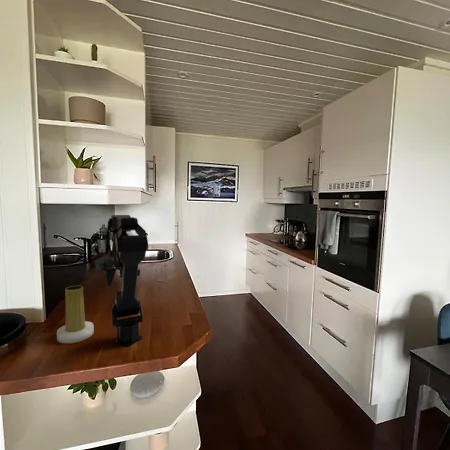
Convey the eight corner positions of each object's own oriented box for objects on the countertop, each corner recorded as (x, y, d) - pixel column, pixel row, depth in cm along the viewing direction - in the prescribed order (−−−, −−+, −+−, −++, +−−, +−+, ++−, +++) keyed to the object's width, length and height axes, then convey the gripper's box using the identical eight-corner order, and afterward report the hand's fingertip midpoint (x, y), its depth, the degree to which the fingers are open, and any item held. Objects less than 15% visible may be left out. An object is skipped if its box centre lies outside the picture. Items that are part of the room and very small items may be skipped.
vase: (63, 328, 91) (61, 287, 90) (82, 322, 95) (81, 283, 94) (68, 334, 86) (66, 291, 85) (88, 328, 91) (86, 287, 90)
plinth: (100, 331, 94) (100, 324, 94) (71, 346, 84) (71, 338, 84) (79, 325, 98) (79, 319, 98) (49, 339, 88) (49, 331, 88)
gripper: (85, 244, 97) (81, 286, 98) (115, 255, 86) (110, 301, 87) (113, 243, 106) (109, 281, 107) (143, 253, 95) (138, 295, 96)
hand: (115, 289), depth 99 cm, fingers open, 9 cm apart
